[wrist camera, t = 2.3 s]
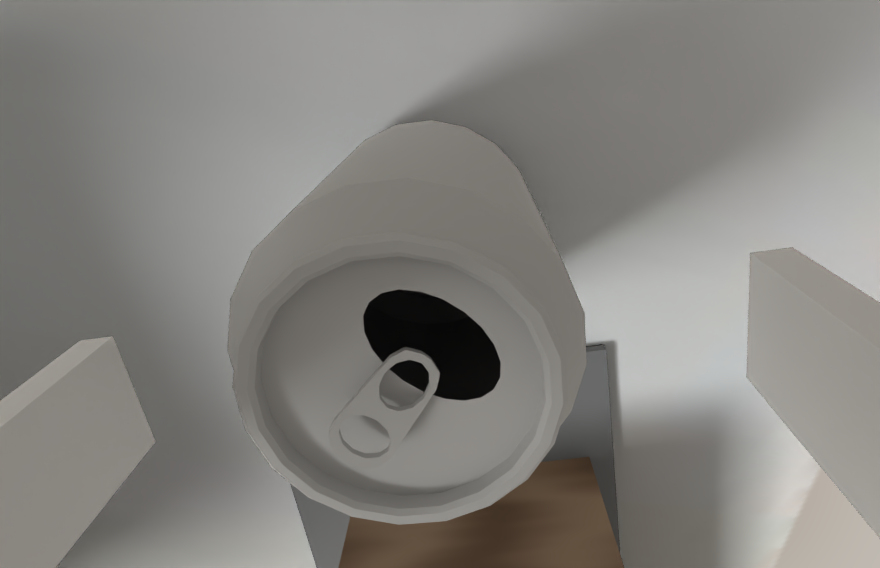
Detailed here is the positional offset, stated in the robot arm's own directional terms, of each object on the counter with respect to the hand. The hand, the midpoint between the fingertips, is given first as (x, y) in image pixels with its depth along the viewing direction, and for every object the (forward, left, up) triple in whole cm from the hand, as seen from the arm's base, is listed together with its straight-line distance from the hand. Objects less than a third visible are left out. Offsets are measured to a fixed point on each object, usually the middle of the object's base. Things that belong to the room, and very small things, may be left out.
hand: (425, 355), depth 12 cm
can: (0, 0, -11) cm, 11 cm away
